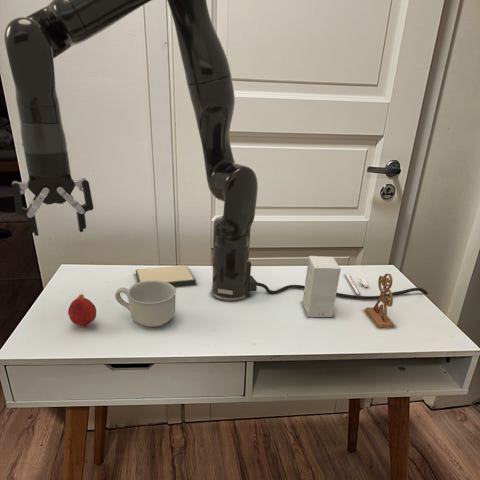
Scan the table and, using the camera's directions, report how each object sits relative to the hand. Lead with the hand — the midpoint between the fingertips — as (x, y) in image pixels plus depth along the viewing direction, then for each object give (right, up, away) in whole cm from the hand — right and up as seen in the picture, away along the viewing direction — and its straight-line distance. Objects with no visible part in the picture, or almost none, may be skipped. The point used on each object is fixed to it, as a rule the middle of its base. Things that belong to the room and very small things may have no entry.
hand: (59, 232), depth 88 cm
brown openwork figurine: (+71, -18, +19) cm, 76 cm away
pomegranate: (+2, -20, +9) cm, 22 cm away
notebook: (+16, -6, +33) cm, 37 cm away
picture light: (+71, -8, +36) cm, 80 cm away
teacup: (+15, -18, +13) cm, 27 cm away
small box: (+57, -16, +21) cm, 62 cm away
